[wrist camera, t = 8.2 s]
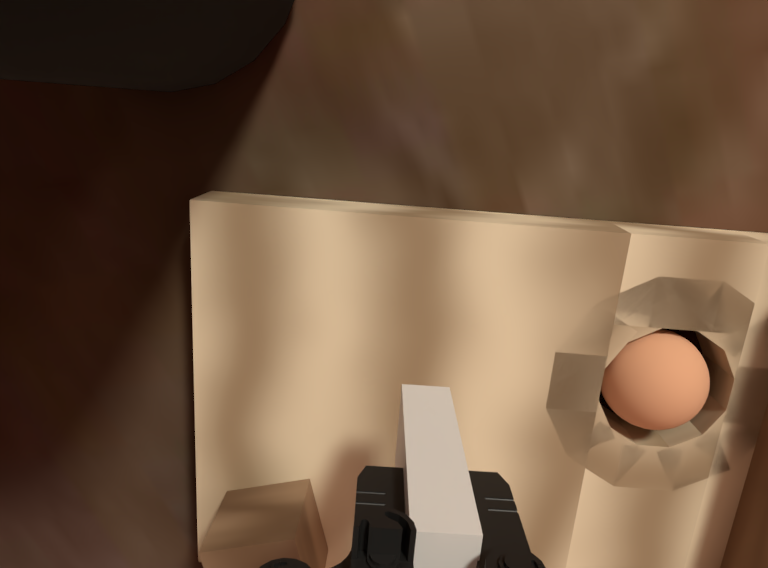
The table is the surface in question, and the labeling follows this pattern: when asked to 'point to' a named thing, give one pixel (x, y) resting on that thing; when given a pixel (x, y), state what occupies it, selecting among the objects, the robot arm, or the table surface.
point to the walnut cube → (266, 527)
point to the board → (482, 367)
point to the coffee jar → (134, 40)
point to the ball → (657, 381)
